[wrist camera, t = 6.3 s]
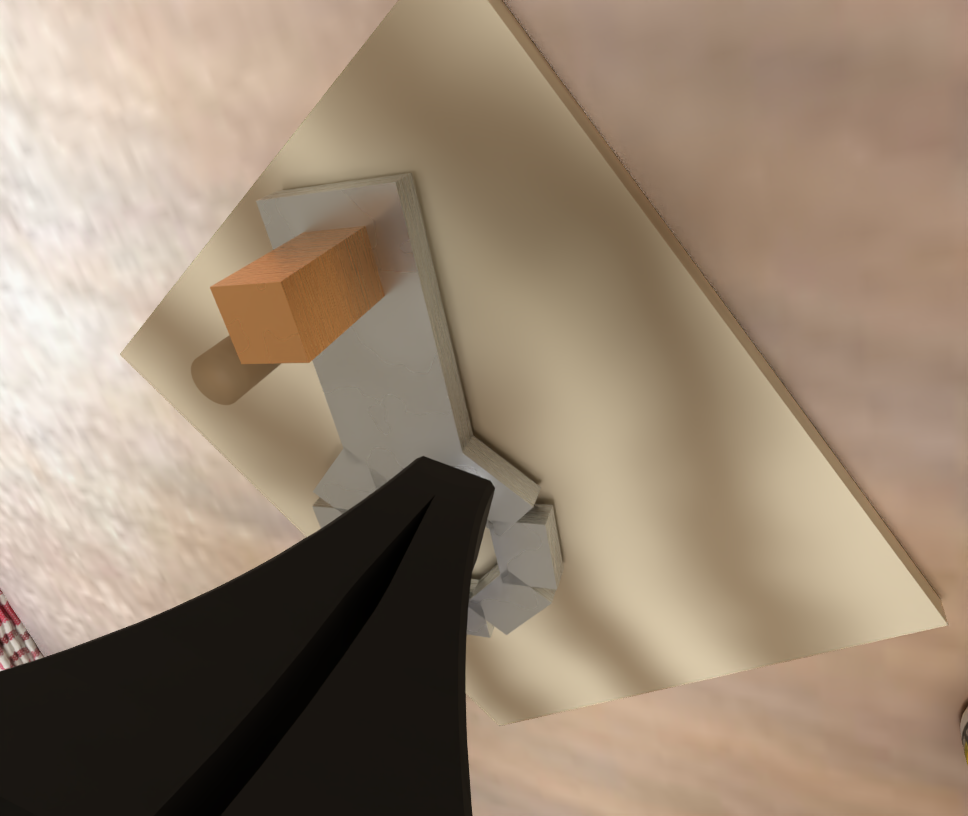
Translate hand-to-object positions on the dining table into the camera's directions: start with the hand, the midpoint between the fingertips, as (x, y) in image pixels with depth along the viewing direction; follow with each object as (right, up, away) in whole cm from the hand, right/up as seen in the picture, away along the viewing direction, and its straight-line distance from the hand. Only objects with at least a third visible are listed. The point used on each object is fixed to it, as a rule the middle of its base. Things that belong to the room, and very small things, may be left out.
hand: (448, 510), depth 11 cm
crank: (-2, +1, +11) cm, 11 cm away
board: (+1, 0, +12) cm, 12 cm away
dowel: (-5, +5, +11) cm, 14 cm away
